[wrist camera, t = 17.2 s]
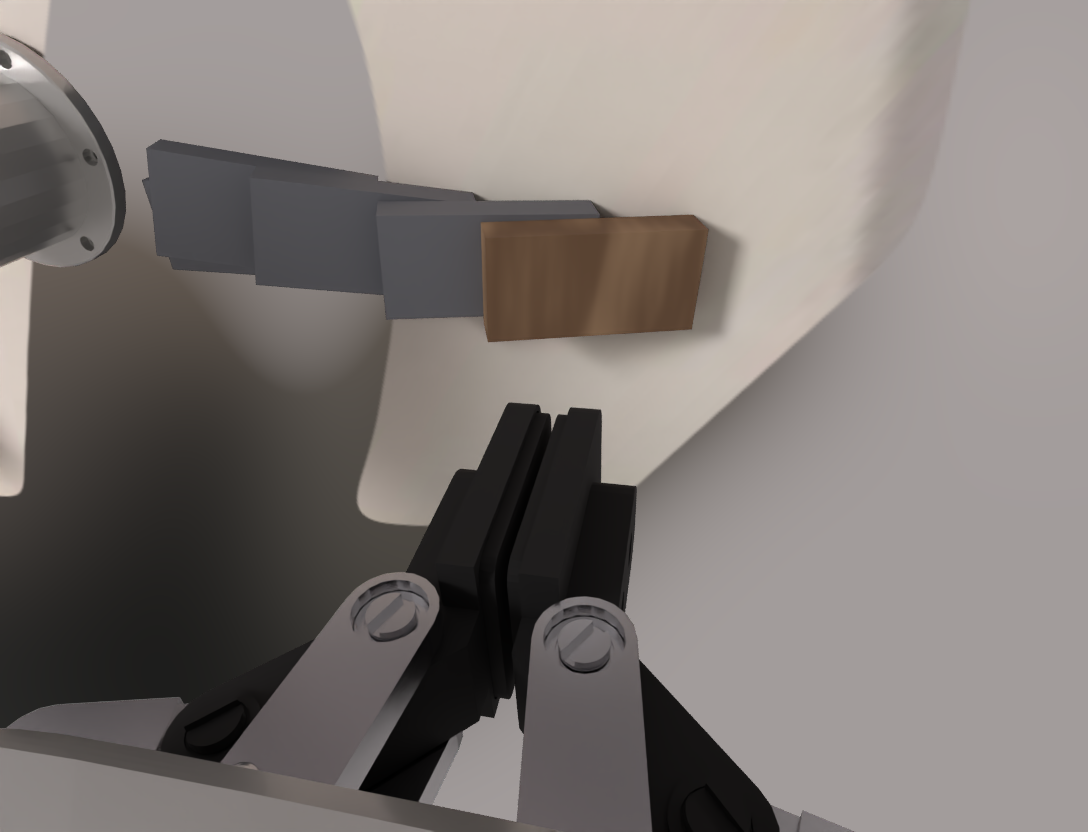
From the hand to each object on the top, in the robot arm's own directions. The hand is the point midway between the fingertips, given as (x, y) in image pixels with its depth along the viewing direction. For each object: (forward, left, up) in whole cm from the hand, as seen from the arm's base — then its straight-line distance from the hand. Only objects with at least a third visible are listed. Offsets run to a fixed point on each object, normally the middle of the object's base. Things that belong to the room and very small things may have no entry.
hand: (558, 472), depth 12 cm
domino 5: (+2, -5, -22) cm, 22 cm away
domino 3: (-9, -4, -22) cm, 24 cm away
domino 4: (-3, -4, -22) cm, 23 cm away
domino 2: (-14, -3, -22) cm, 26 cm away
